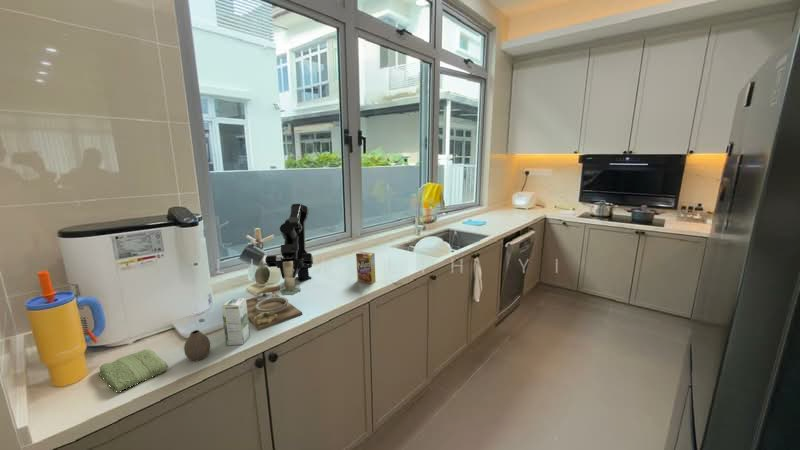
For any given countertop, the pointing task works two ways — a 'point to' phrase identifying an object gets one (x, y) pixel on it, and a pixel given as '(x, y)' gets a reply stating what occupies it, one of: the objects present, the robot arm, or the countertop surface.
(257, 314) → the gear board
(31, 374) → the countertop surface
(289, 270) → the gear
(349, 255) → the countertop surface
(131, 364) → the washcloth
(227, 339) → the syrup box
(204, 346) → the vase
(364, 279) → the candy box
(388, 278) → the countertop surface
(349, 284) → the countertop surface
